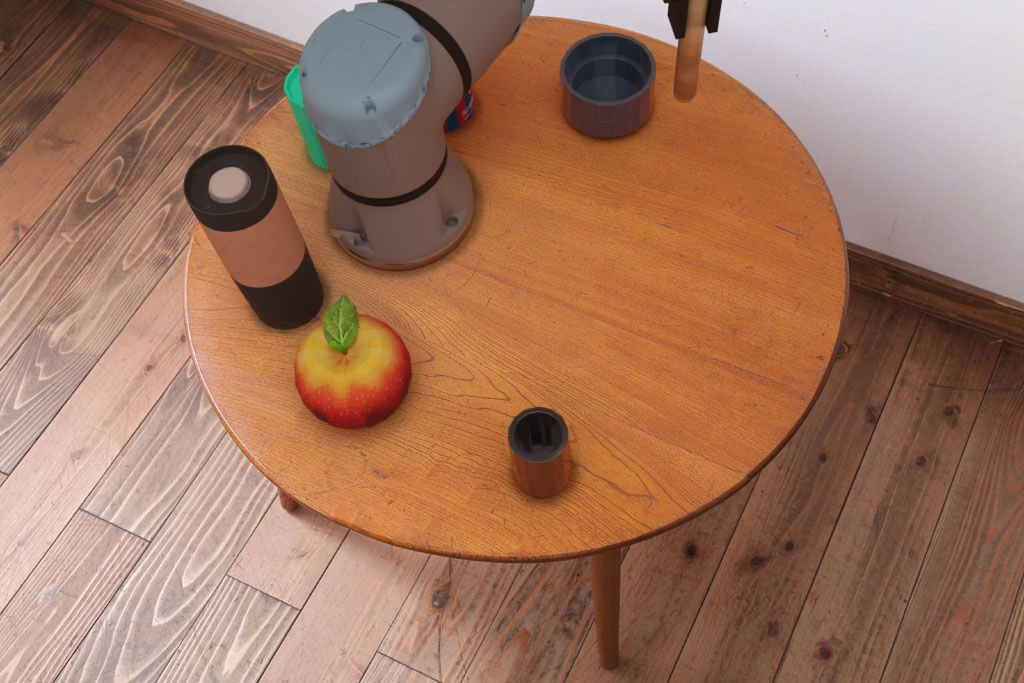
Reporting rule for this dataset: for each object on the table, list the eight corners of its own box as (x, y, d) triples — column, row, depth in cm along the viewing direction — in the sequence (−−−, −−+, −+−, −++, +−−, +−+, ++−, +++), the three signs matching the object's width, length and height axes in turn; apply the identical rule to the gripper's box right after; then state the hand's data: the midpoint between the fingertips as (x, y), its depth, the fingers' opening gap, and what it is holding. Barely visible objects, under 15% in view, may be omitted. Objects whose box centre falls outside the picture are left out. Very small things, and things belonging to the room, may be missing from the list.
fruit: (302, 445, 96) (272, 400, 87) (313, 343, 101) (286, 290, 92) (415, 442, 95) (397, 397, 86) (421, 340, 100) (404, 287, 91)
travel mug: (253, 271, 105) (184, 147, 88) (327, 263, 105) (273, 138, 87) (250, 336, 102) (177, 220, 84) (326, 328, 101) (269, 211, 84)
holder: (510, 453, 94) (501, 414, 86) (564, 442, 94) (561, 401, 86) (521, 504, 91) (513, 468, 83) (576, 492, 92) (574, 455, 84)
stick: (669, 92, 90) (687, -89, 73) (692, 88, 90) (715, -94, 73) (675, 109, 89) (694, -70, 72) (698, 105, 89) (722, -75, 72)
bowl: (552, 82, 114) (550, 43, 109) (639, 64, 115) (641, 24, 109) (573, 150, 110) (571, 113, 104) (663, 131, 110) (667, 93, 105)
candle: (298, 148, 113) (267, 72, 102) (341, 118, 114) (315, 40, 104) (330, 179, 110) (302, 105, 100) (374, 148, 112) (350, 71, 101)
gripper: (616, -210, 59) (610, 75, 80) (870, -254, 59) (798, 41, 80) (589, -285, 63) (590, 6, 83) (829, -326, 63) (770, -26, 84)
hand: (692, 23), depth 82 cm, fingers closed on stick, 2 cm apart
